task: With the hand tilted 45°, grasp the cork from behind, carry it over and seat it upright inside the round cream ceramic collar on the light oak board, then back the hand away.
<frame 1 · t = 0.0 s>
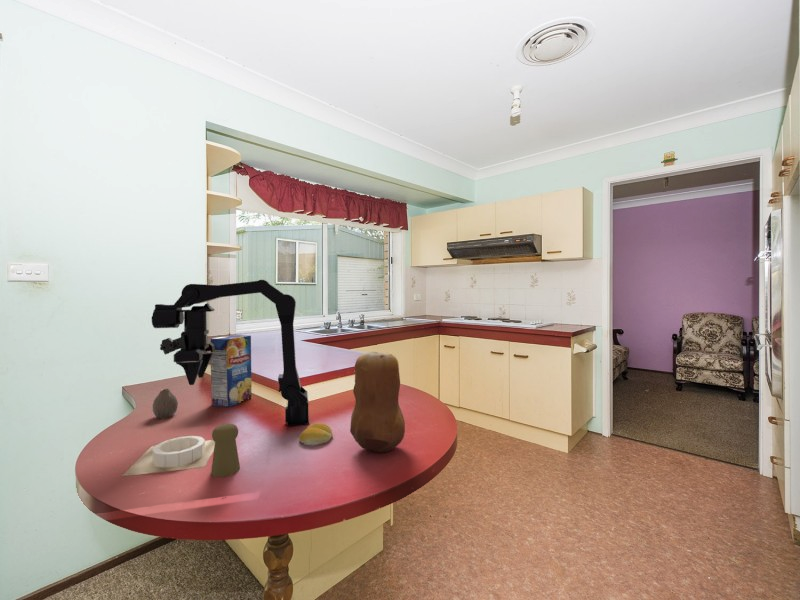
hand: (196, 381, 106), 15 cm above the table, tool pointing down, fingers open, 9 cm apart
brown fig: (165, 417, 119), on the table
cream collar: (179, 457, 87), resting on oak board
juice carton: (232, 402, 135), on the table
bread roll: (316, 440, 100), on the table
cork: (225, 475, 80), on the table
butternut squash: (377, 450, 93), on the table
oak board: (176, 459, 88), on the table
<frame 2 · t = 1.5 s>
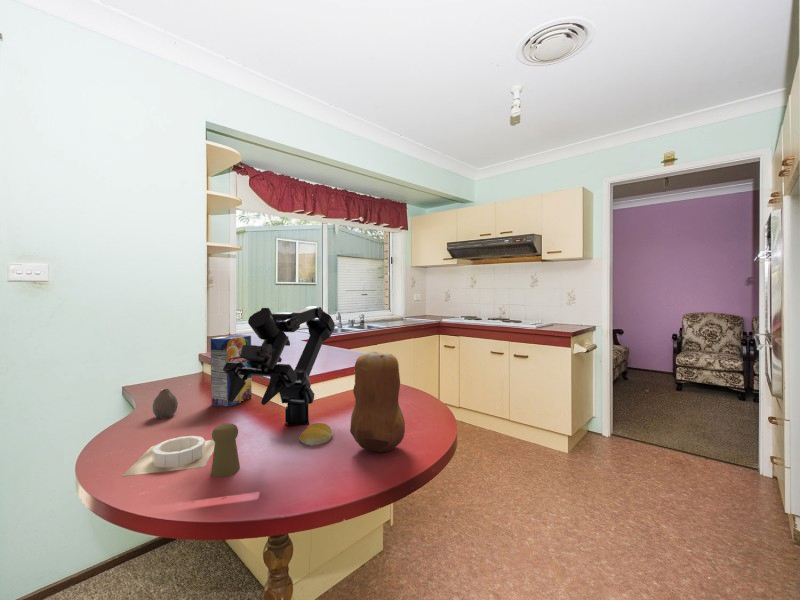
hand: (245, 403, 89), 13 cm above the table, tool tilted 45°, fingers open, 9 cm apart
nothing on the table moved.
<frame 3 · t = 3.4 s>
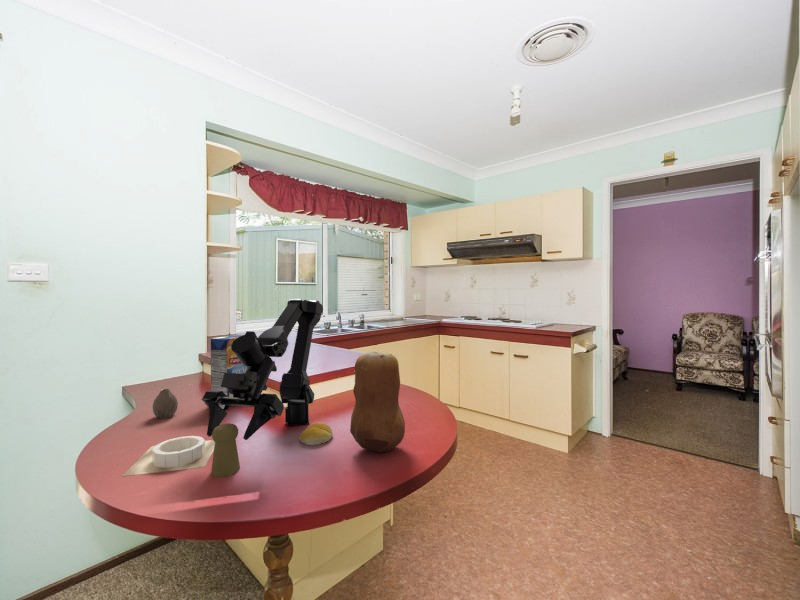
hand: (226, 437, 81), 8 cm above the table, tool tilted 45°, fingers open, 9 cm apart
nothing on the table moved.
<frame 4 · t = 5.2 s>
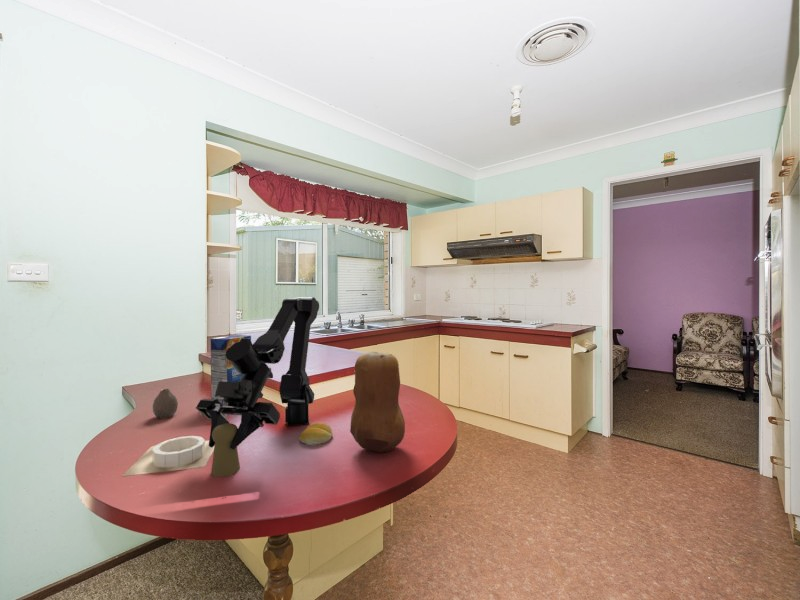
hand: (221, 447, 79), 7 cm above the table, tool tilted 45°, fingers closed on cork, 5 cm apart
cork: (225, 475, 80), on the table, touching gripper
everything else where it was.
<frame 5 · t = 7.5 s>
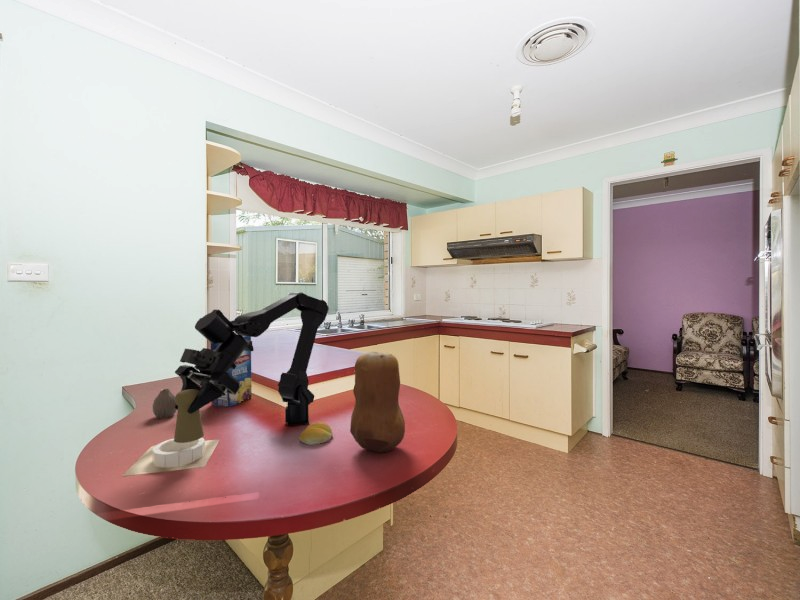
hand: (182, 410, 83), 13 cm above the table, tool tilted 45°, fingers closed on cork, 5 cm apart
cork: (189, 438, 84), point 6 cm above the table, touching gripper
everything else where it was.
when the fingers open (8 cm above the table, at t = 9.8 s): cork stays where it is, resting on oak board.
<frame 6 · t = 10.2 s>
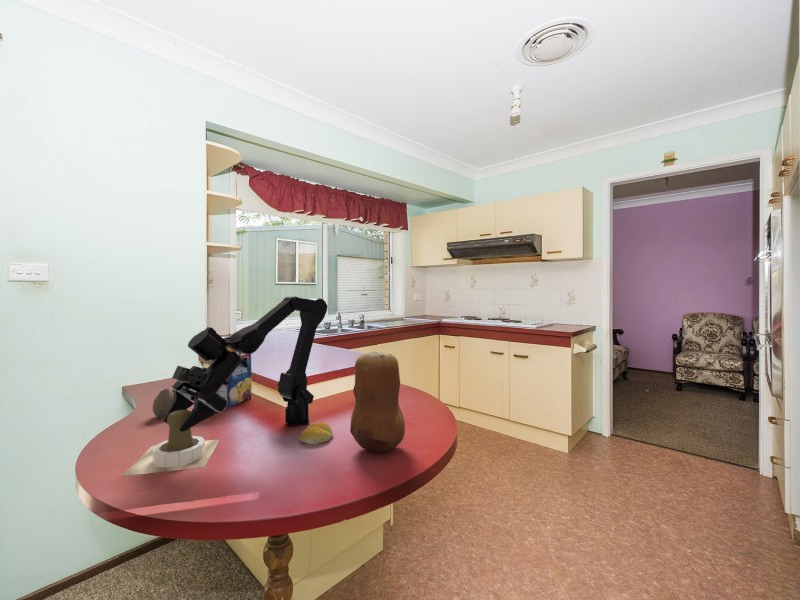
hand: (172, 426, 86), 9 cm above the table, tool tilted 45°, fingers open, 9 cm apart
cork: (180, 457, 87), point 1 cm above the table, touching oak board
everything else where it was.
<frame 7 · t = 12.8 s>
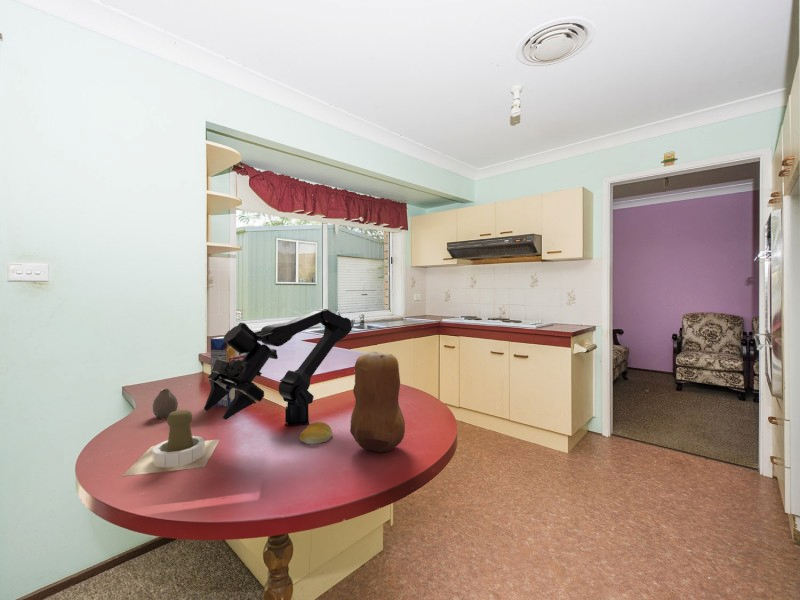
hand: (214, 414, 94), 9 cm above the table, tool tilted 40°, fingers open, 9 cm apart
nothing on the table moved.
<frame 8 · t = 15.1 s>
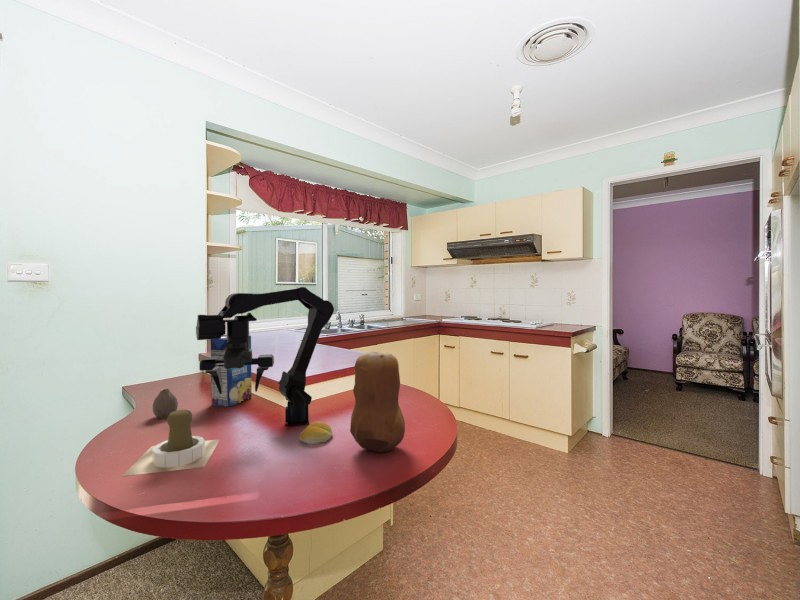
hand: (238, 392, 103), 12 cm above the table, tool pointing down, fingers open, 9 cm apart
nothing on the table moved.
at the end: cork 0.1 cm off-centre on the cream collar, point 0.0 cm above the cream collar's base; cork tilted 0°; the gripper is holding nothing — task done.
